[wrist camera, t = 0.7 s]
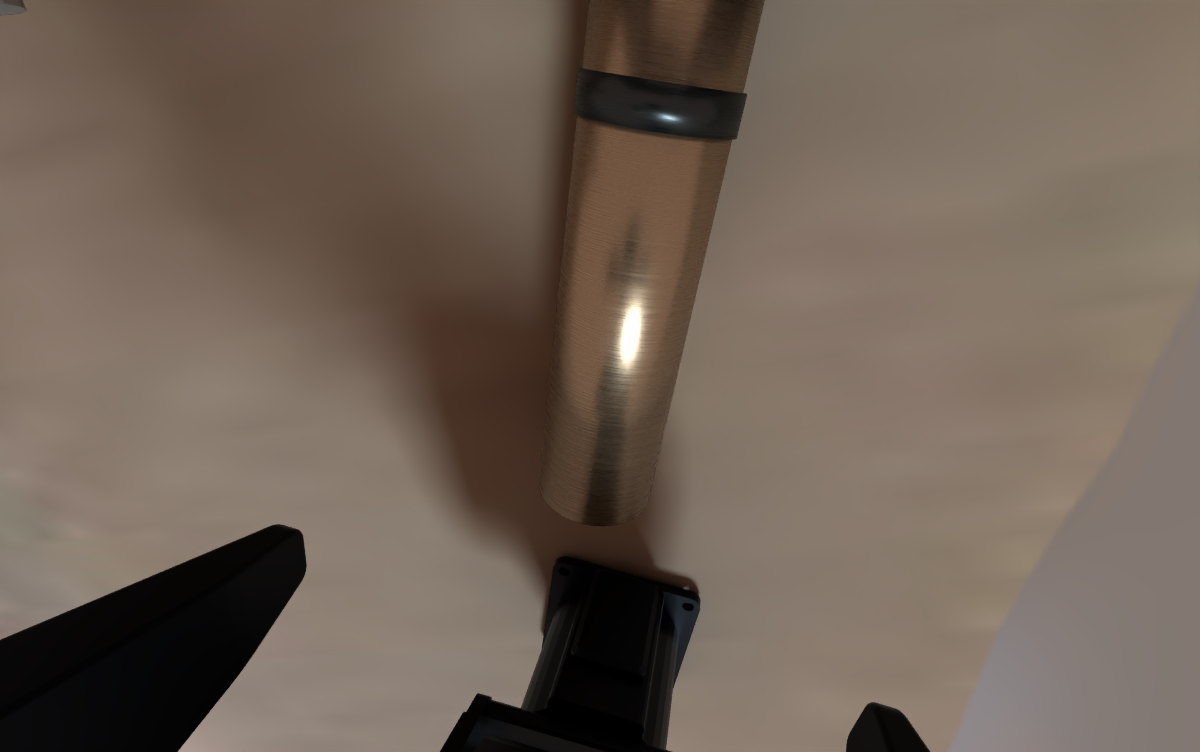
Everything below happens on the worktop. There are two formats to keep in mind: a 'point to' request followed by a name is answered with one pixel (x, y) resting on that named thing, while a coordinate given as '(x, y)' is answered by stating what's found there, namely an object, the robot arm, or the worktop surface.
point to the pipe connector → (11, 7)
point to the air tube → (637, 238)
